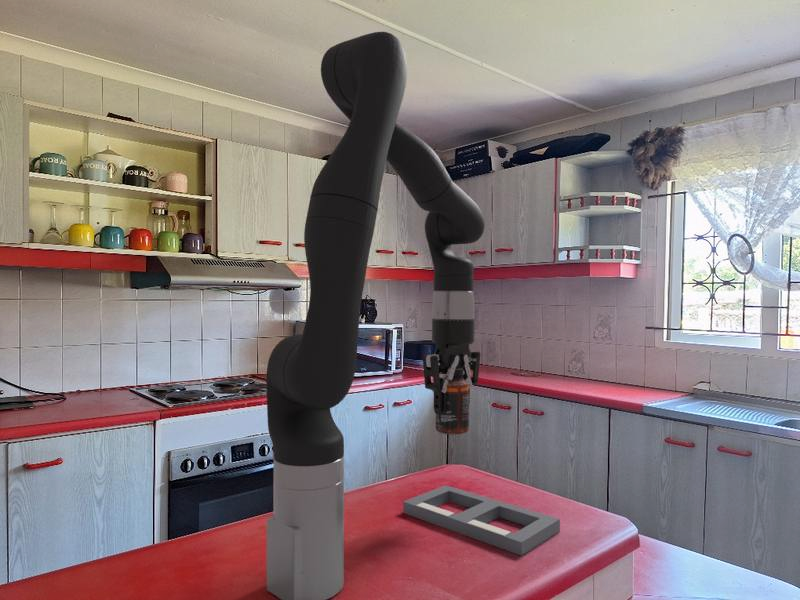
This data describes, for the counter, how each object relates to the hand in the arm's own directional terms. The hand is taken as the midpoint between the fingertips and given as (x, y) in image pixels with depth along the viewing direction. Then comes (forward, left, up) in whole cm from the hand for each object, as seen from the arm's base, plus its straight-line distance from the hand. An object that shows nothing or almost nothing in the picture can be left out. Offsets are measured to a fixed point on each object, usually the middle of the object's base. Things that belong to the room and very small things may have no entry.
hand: (452, 410), depth 98 cm
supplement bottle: (0, 0, -4) cm, 4 cm away
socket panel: (0, -6, -18) cm, 19 cm away
